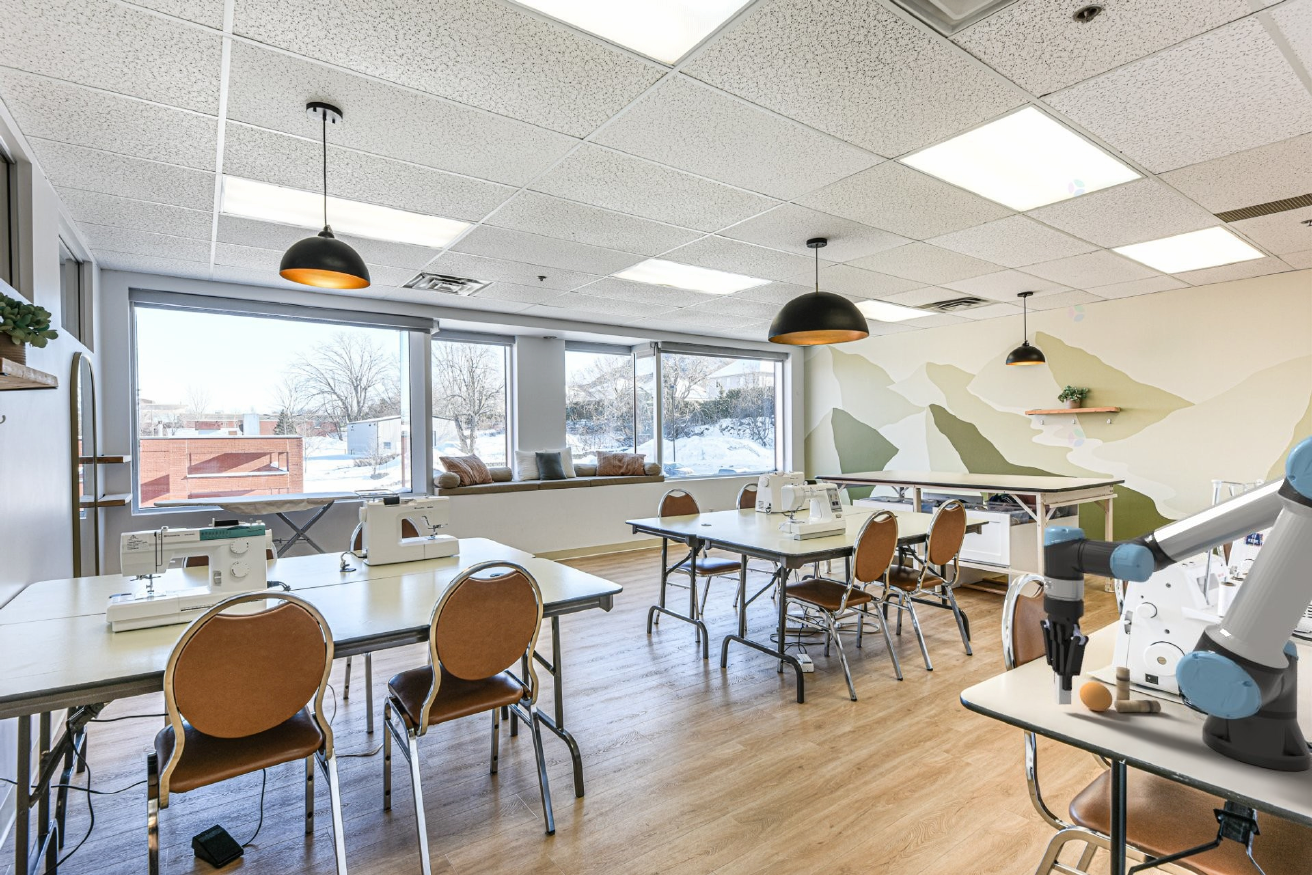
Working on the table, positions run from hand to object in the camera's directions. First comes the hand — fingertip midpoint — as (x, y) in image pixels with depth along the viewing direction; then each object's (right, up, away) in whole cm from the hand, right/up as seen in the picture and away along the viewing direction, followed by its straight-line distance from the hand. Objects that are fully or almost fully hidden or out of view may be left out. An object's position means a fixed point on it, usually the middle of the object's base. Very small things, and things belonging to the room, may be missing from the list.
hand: (1062, 702), depth 138 cm
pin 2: (+12, -1, 0) cm, 12 cm away
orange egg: (+8, +1, +1) cm, 8 cm away
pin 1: (+15, -2, +3) cm, 16 cm away
